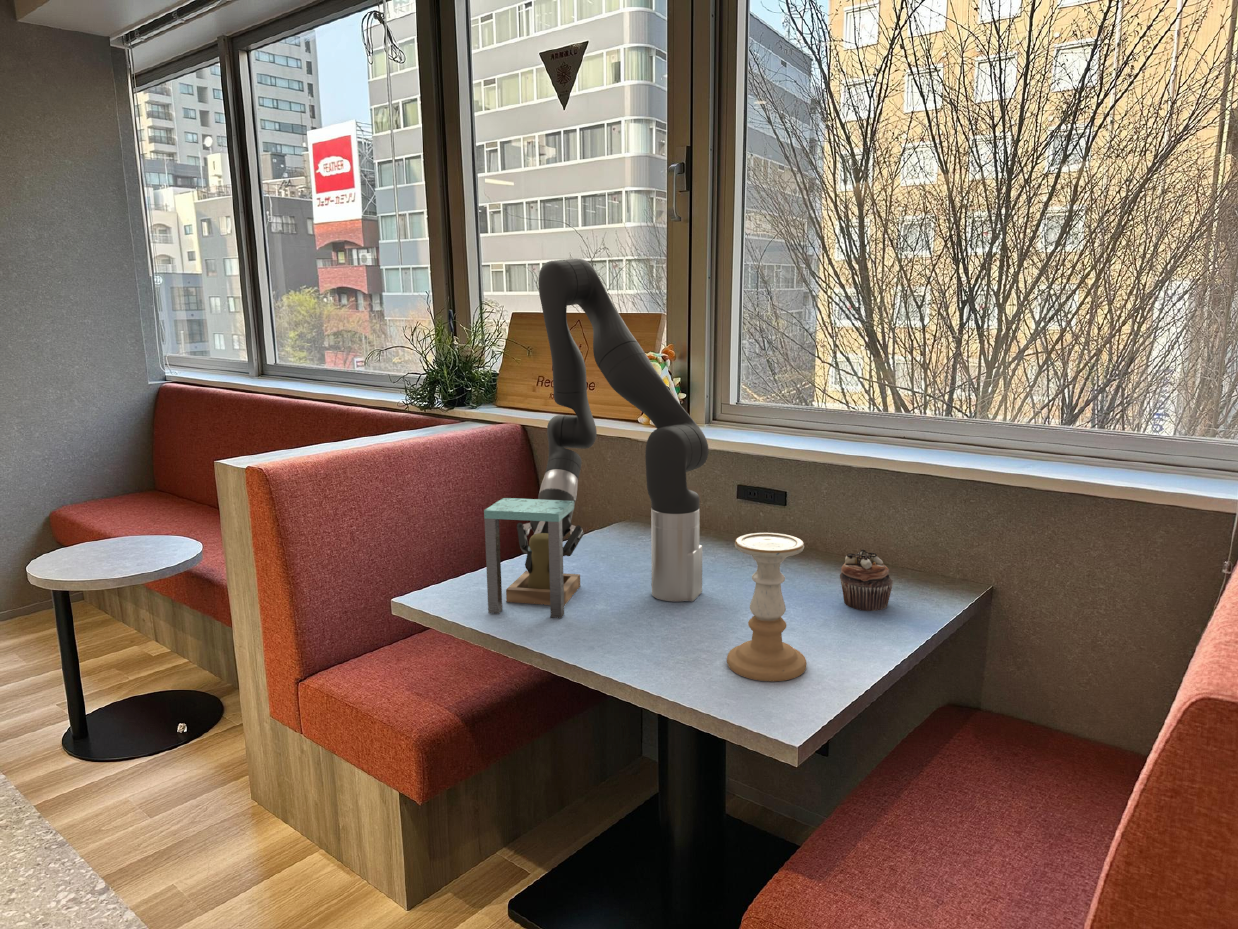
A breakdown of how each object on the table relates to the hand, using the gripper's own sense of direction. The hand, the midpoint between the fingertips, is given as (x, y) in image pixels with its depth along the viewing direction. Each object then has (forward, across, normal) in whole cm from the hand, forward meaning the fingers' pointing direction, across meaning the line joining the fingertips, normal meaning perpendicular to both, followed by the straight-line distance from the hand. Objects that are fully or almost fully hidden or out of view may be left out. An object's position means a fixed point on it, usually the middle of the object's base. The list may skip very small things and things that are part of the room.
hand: (540, 572), depth 164 cm
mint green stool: (+7, 0, 0) cm, 7 cm away
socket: (+2, 0, +5) cm, 5 cm away
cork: (+2, 0, +4) cm, 5 cm away
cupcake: (-2, +61, +10) cm, 62 cm away
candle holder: (+20, +44, -13) cm, 50 cm away
